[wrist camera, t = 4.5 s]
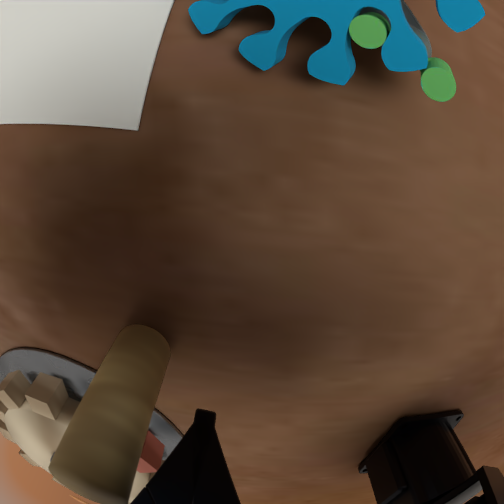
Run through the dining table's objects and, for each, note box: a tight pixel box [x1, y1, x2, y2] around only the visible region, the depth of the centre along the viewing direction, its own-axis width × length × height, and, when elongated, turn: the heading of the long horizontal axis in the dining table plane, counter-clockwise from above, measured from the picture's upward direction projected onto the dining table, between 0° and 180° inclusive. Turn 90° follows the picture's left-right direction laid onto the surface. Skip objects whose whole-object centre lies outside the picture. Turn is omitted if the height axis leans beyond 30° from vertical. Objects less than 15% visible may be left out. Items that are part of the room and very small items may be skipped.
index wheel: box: [0, 324, 171, 504], centre depth 11 cm, size 14×18×7 cm
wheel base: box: [0, 347, 183, 460], centre depth 15 cm, size 16×16×1 cm
